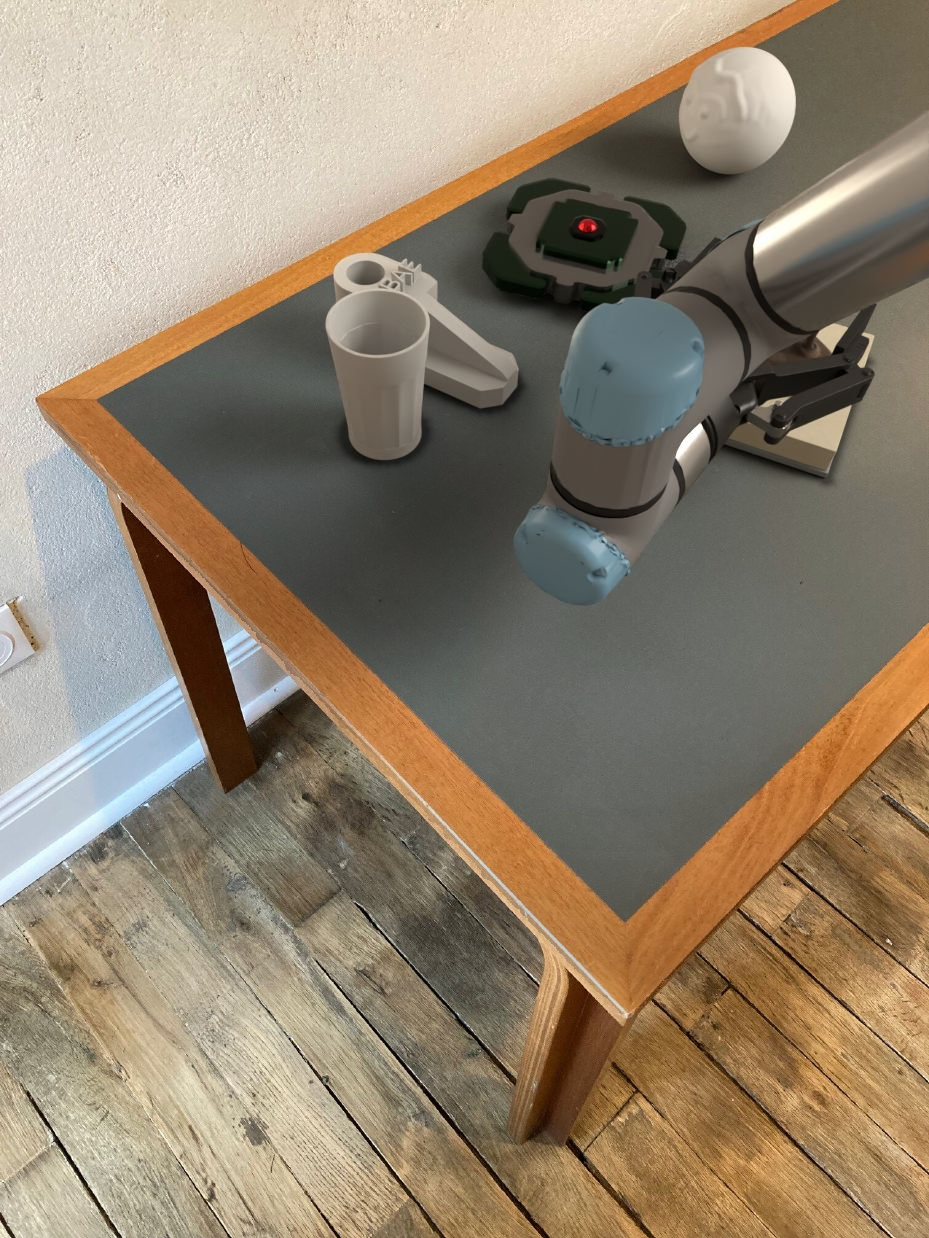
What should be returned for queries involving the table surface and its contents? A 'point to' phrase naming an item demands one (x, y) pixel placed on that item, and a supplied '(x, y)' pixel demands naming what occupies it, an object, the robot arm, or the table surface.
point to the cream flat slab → (802, 427)
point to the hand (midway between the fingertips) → (788, 283)
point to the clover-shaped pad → (580, 243)
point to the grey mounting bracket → (437, 332)
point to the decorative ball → (737, 110)
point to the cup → (380, 368)
